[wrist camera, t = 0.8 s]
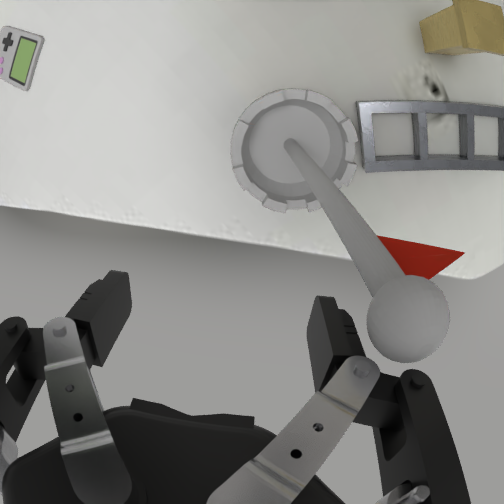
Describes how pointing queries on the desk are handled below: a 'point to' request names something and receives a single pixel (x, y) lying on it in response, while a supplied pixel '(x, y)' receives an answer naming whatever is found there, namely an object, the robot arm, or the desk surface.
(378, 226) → the desk surface
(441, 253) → the flag stand
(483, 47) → the brass peg
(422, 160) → the grey slotted tray
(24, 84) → the handheld gaming console
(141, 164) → the desk surface
